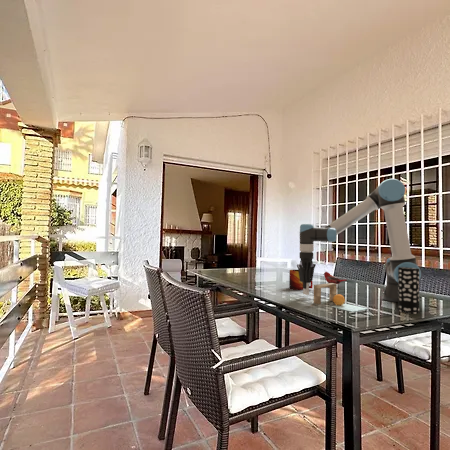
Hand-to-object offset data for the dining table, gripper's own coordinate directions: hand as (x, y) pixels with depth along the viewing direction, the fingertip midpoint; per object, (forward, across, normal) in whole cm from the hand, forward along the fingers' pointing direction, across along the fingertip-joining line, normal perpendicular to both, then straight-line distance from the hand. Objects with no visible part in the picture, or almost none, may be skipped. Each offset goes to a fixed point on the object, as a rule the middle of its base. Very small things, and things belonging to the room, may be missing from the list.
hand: (306, 294), depth 168 cm
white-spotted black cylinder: (+2, -19, +45) cm, 49 cm away
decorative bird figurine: (+2, -46, -16) cm, 49 cm away
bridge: (+2, 0, +13) cm, 13 cm away
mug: (+2, -19, -22) cm, 30 cm away
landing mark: (+2, 0, +27) cm, 27 cm away
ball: (-1, 0, +21) cm, 21 cm away
